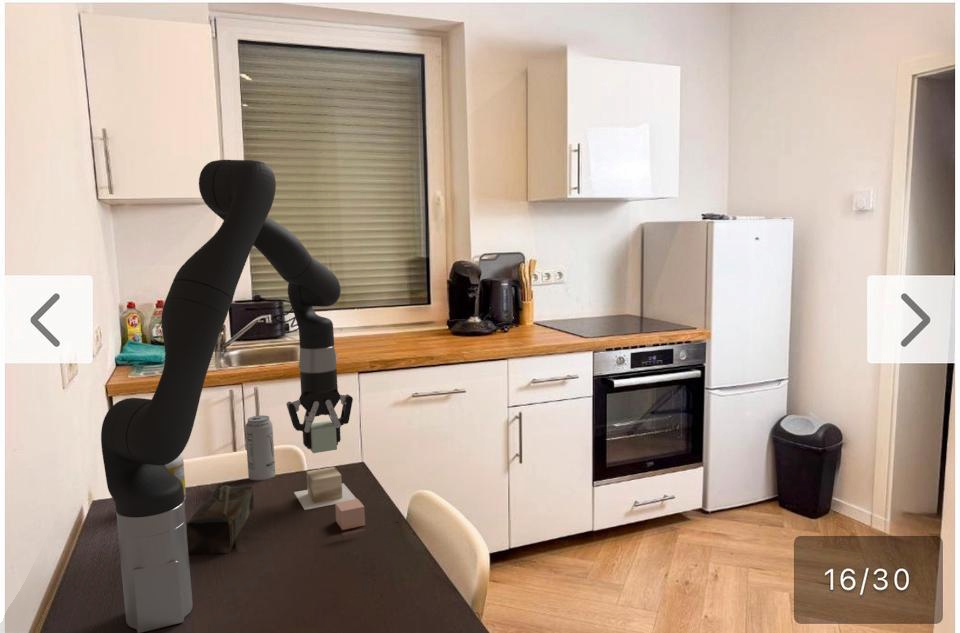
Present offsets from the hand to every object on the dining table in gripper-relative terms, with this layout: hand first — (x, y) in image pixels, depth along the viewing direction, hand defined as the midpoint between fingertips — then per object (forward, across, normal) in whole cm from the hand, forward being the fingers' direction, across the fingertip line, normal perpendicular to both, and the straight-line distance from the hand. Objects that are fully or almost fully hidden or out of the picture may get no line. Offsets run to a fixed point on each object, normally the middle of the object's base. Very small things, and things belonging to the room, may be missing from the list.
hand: (322, 445), depth 146 cm
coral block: (+12, +1, -16) cm, 21 cm away
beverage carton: (+13, -21, -6) cm, 25 cm away
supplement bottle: (+12, -30, +16) cm, 36 cm away
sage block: (0, 0, 0) cm, 0 cm away
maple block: (+11, 0, 0) cm, 11 cm away
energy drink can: (+12, -10, +20) cm, 26 cm away
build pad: (+12, 0, 0) cm, 12 cm away
